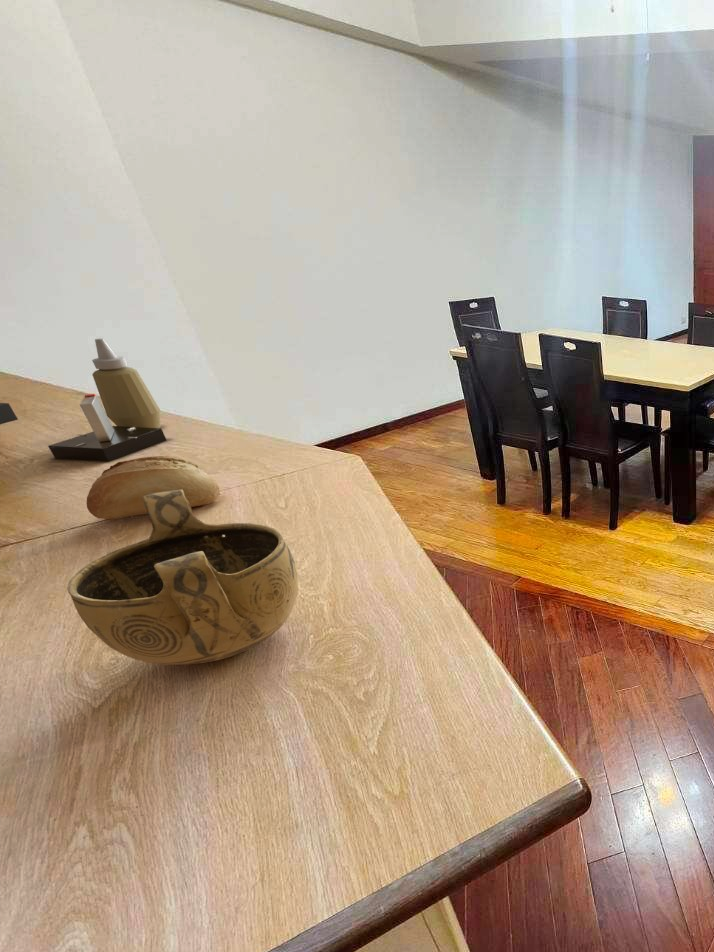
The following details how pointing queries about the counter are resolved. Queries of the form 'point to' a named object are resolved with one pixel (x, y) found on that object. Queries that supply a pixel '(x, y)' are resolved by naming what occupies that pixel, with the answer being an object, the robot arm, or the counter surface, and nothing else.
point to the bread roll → (147, 485)
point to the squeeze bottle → (123, 391)
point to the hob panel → (107, 444)
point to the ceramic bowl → (188, 588)
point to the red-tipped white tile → (97, 417)
